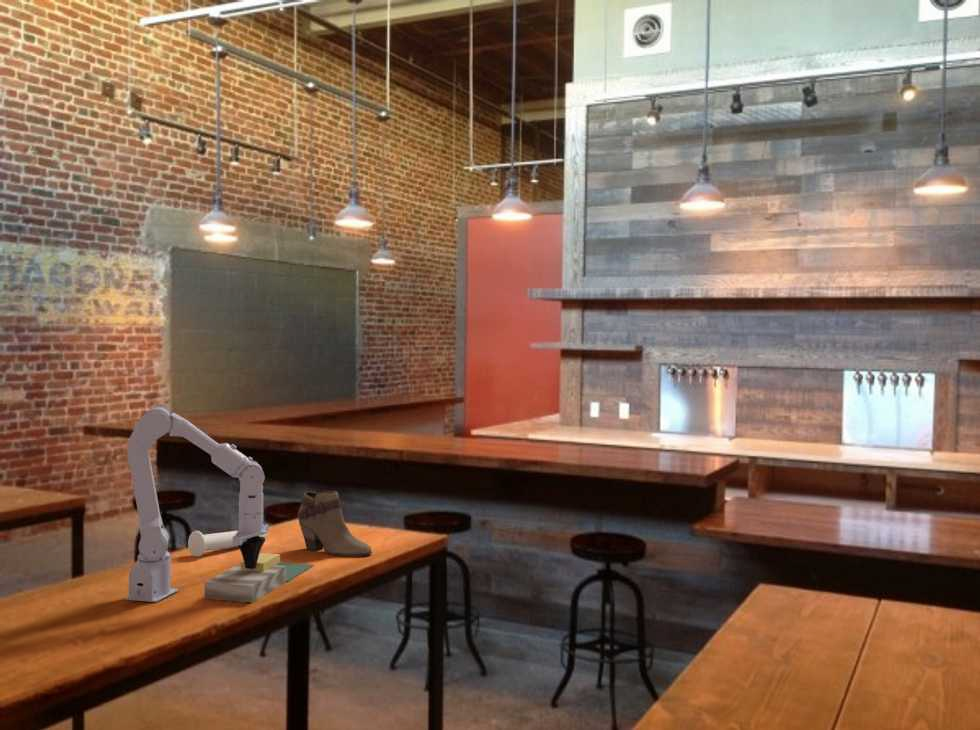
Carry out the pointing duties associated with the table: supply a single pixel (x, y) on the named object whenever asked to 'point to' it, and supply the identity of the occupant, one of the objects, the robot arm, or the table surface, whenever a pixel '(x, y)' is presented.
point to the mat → (294, 569)
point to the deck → (244, 584)
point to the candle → (210, 541)
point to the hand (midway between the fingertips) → (250, 568)
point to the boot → (327, 526)
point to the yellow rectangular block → (263, 562)
